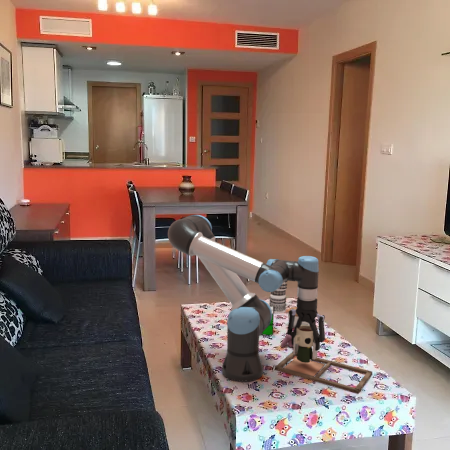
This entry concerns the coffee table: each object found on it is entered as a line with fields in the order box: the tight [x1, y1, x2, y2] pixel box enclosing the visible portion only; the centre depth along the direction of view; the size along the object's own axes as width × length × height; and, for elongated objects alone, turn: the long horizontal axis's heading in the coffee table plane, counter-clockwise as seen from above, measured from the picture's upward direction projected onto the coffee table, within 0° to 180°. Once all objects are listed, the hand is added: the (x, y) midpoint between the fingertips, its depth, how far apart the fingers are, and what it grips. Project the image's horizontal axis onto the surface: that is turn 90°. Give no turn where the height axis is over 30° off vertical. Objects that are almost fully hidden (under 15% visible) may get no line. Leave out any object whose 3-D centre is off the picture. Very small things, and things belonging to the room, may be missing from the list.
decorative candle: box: [268, 280, 288, 314], centre depth 248 cm, size 9×9×25 cm
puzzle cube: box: [261, 307, 275, 336], centre depth 222 cm, size 10×10×10 cm
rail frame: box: [273, 351, 373, 394], centre depth 184 cm, size 17×32×1 cm, turn 58°
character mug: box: [295, 324, 315, 363], centre depth 187 cm, size 11×7×13 cm, turn 125°
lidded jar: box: [287, 306, 309, 329], centre depth 228 cm, size 11×11×9 cm
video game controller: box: [280, 334, 299, 348], centre depth 204 cm, size 10×5×7 cm, turn 49°
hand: (305, 355), depth 187 cm, fingers closed on character mug, 7 cm apart
